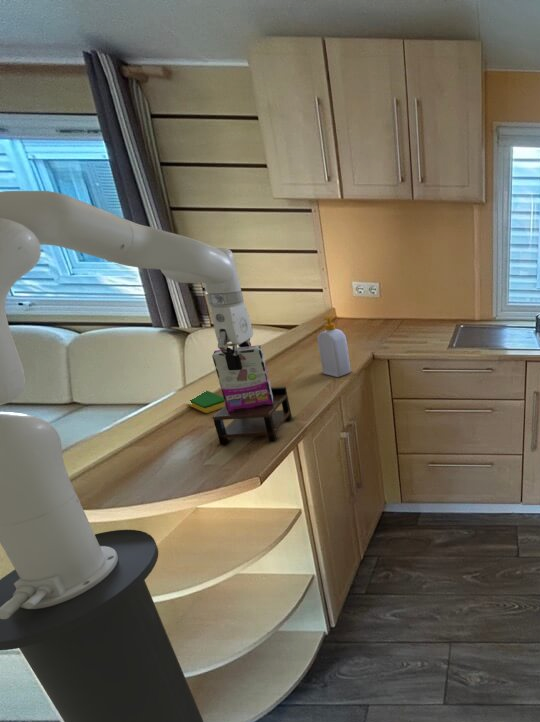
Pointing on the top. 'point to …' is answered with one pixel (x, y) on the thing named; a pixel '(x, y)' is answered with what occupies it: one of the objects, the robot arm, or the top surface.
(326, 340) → the soap bottle
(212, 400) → the dish sponge
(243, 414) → the rack
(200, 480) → the top surface
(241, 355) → the candy bar box
